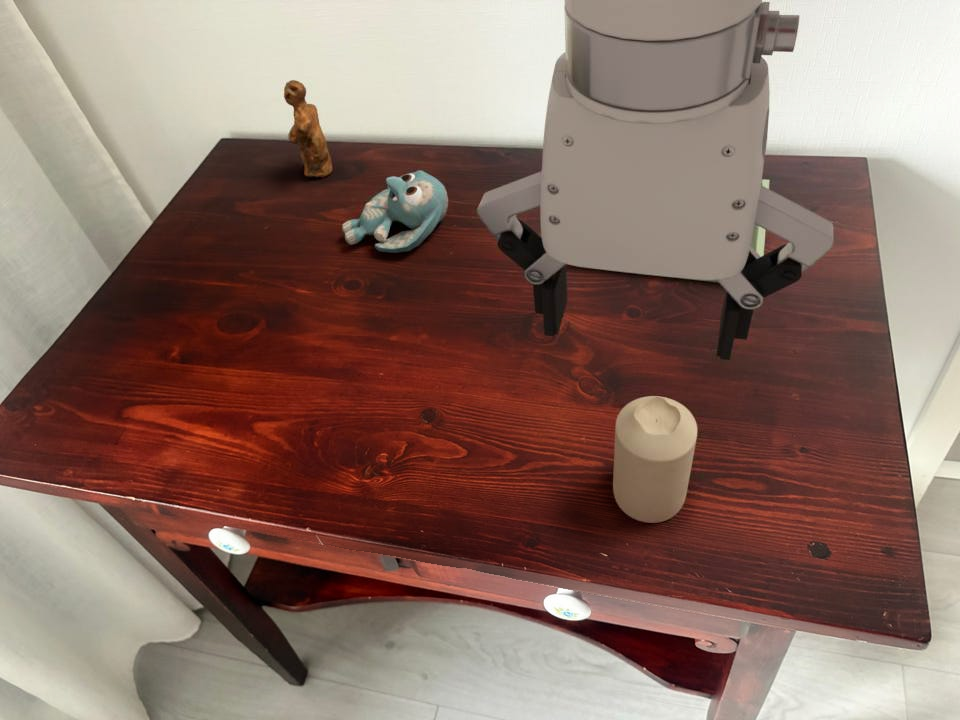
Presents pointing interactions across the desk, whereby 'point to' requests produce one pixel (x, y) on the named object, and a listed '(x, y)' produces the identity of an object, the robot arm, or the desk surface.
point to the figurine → (307, 132)
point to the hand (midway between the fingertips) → (638, 329)
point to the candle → (653, 458)
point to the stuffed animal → (401, 212)
